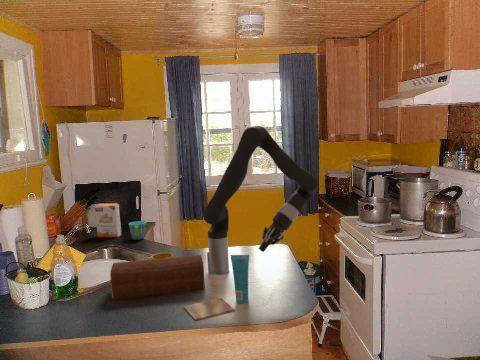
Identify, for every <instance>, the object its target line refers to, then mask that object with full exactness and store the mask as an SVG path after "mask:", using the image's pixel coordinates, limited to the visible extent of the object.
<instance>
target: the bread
mask: <svg viewBox="0 0 480 360" xmlns="http://www.w3.org/2000/svg"><path fill="white" fill-rule="evenodd" d="M204 268H205V267H204V261H203V257H202V255H201V254H195V255H194V254H193V255H185V256H178V257H173V258H166V259H154V260H151V259H143V260H132V261H131V260H130V261H121V262H113V263H112V265H111V268H110V273H109V274H110V286H111V287H110V288H111V290H110V291H111V299H113V301H115V300H116V299H118V300H125V299H126V300H127V299H135V298H136V299H137V298H144V297H145V298H146V297H147V298H148V297H154V296H162V295H163V296H164V295H174V294H175V295H176V294H183V293H184V292H185V293H193V292H202V291H204V290H205V289H206V284H205V271H204ZM185 293H184V294H185Z"/></svg>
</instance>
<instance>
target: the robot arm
mask: <svg viewBox="0 0 480 360" xmlns="http://www.w3.org/2000/svg"><path fill="white" fill-rule="evenodd" d="M257 148H260V149H261V150H263V151H265V152H266V153H267V154H268V156H269V157H270V158H271V160H272V162H273V163H274V165H275V166H276V167H277V169H279V171H280V172H281V173H283V175H285V177H287V178H288V179H289V180H291V181H294V182H295V183H297V184H298V187H297V189H296V190H295V191H294V193H292V194H291V195H290V196H289V197H288V199H287V200H286V202H285V203H284V204H283V205H282V206H281V207H280V208H279V209H278V211H277V212H276V214H275V215H274V216H273V217H272V224H271V225H269V227H264V228H263V233H262V237H261V238H262V240H263V241H262V242H261V243H260V245H259V247H258V250H260V252H262V253H263V252H265V251H266V250H267V249H268V247H269V246H271V245H272V246H274V245H275V244H277V243H278V242H280V241H282V240H283V239H284V235H283V234H284V232H285V231H288V230H289V229H290V227H291V226H292V225H293V223H294V222H295V220H296V219H297V218H298V216H299V214H300V213H301V212H302V210H303V208H304V207H305V205H306V204H307V202H308V201H309V200H310V199H311V198H312V196H314V195H315V192H317V189H318V185H319V184H318V183H319V182H318V179H317V178H316V177H315V176H314V175H313V174H312V173H311V172H309V171H308V170H306V169H305V168H303V167H301V165H299V164H298V163H297V161H295V160H294V159H293V158H292V157H291V156H290V155H288V154H287V152H286V151H285V150H284V149H283V148H282V147H281V145H279V144H278V143H277V142H276V140H275V139H274V138H273V137H272V136H271V134H270V132H269V131H267V129H266V128H265V127H263V126H262V125H253V126H252V125H251V126H248V127H247V128H246V129H244V130H243V133H242V135H241V137H240V140H239V143H238V145H237V148H236V150H235V151H234V155H232V157H231V159H230V161H229V164H228V166H227V167H226V170H225V171H224V173H223V175H222V178H221V179H220V182H219V183H218V185H217V188H216V190H215V192H214V193H213V195H212V197H211V199H210V201H209V202H208V203H207V205H206V206H205V208H204V210H203V219H204V221H205V223H206V224H209V225H210V228H209V229H208V231H207V243H208V252H207V253H206V258H207V271H208V273H211V274H212V275H224V274H227V273H229V272H230V266H229V265H230V264H229V262H230V261H229V245H228V244H229V243H228V240H229V239H228V231H229V210H228V206H226V204H227V203H228V201H230V199H231V198H232V197H233V196H234V195H235V194H236V193H237V191H238V190H239V189H240V188H241V186H242V184H243V182H244V181H245V179H246V177H247V174H248V168H249V162H250V159H251V157H252V155H253V154H254V152H255V151H256V149H257Z"/></svg>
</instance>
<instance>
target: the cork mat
mask: <svg viewBox="0 0 480 360" xmlns="http://www.w3.org/2000/svg"><path fill="white" fill-rule="evenodd" d="M183 309H184V310H185V311H186V312H187V314H189V316H190V317H192V319H193V320H194V321H200V320H203V319H207V318H210V317H211V318H212V317H215V316H220V315H223V314H224V315H225V314H227V313H228V314H229V313H231V312H235V308H234V307H233V306H232V305H230V304H229V303H228V301H226V300H225V299H224V298H223V297H219V298H214V299H211V300H205V301H200V302H196V303H193V304H189V305H184V306H183Z"/></svg>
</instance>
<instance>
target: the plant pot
mask: <svg viewBox="0 0 480 360" xmlns="http://www.w3.org/2000/svg"><path fill="white" fill-rule="evenodd" d="M166 258H174V254H173V253H171V252H160V253H154V254H153V255H151V256H150V260H154V259H166Z"/></svg>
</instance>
